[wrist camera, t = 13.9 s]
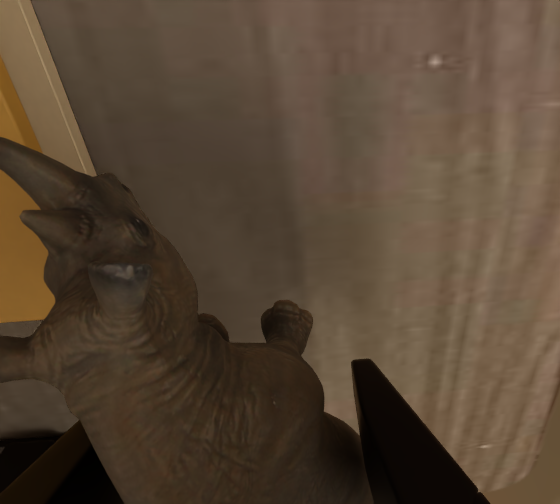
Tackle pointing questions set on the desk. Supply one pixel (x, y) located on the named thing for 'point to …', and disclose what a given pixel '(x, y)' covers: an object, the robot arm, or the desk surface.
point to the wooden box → (40, 86)
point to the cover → (19, 224)
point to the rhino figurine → (169, 361)
